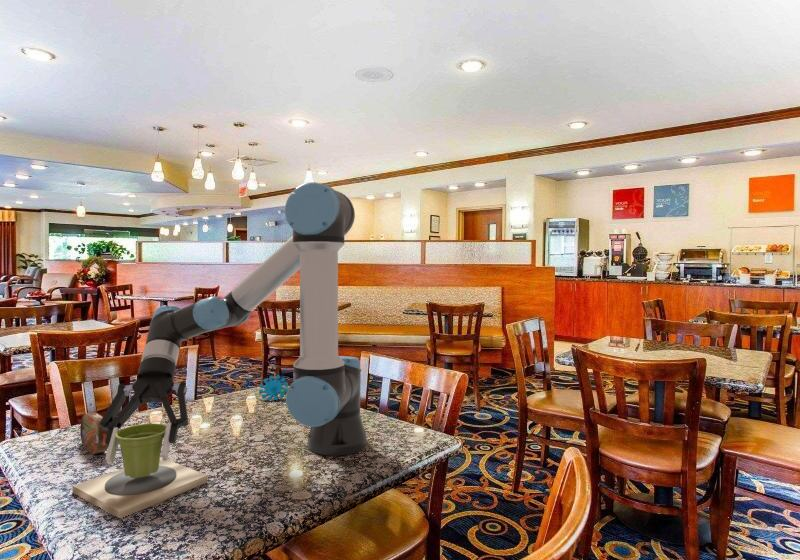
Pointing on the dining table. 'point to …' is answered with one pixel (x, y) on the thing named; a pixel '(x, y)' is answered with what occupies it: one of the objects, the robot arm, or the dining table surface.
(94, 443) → the tin
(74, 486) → the serving board
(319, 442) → the robot arm
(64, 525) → the dining table surface
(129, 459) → the plant pot
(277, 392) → the gear
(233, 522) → the dining table surface
